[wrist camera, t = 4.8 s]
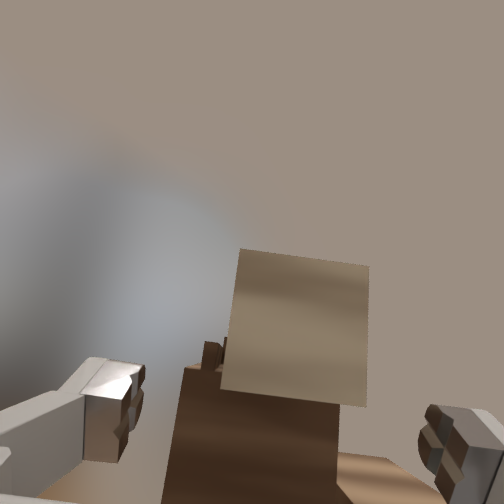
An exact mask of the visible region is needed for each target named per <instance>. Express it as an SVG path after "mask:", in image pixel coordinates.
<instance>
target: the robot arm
mask: <svg viewBox="0 0 504 504" xmlns="http://www.w3.org/2000/svg"><path fill="white" fill-rule="evenodd" d="M144 379H145V365H143V364H137V363H130V362H124V361H117V360H111V359H105V358H97V357H90V358H88V359H87V360H86V361H85V362H84V363H83V364H82V365H81V366H80V367H79V368H78V369H77V371H76V372H75V373H74V374H73V375H72V376H71V377H70V378H69V379H68V380H67V381H66V382H65V383H64V384H63V385H62V387H61V388H60V389H59V390H58V391H49V392H47V393H44V394H42V395H39V396H37V397H34V398H32V399H30V400H27V401H24V402H22V403H19V404H17V405H14V406H12V407H9V408H7V409H4V410H2V411H0V504H78V503H70V502H61V501H54V500H46V499H39V498H36V497H37V496H38V495H40V494H41V493H42V492H44V491H45V490H46V489H47V488H49V487H50V486H52V485H53V484H54V483H55V482H57V481H58V480H59V479H61V478H62V477H63V476H65V475H66V474H67V473H69V472H70V471H71V470H73V469H74V468H75V467H76V466H78V465H79V464H80V463H82V460H87V461H97V462H107V463H118V461H119V459H120V457H121V455H122V453H123V451H124V449H125V447H126V445H127V443H128V434H129V432H130V431H132V430H134V428H135V426H136V424H137V422H138V419H139V416H140V413H141V409H142V404H143V396H144V392H143V391H142V389H141V388H140V387H141V385H142V383H143V381H144ZM425 419H426V421H427V423H428V424H427V425H426V426H425V427H423V428H422V429H421V430H420V434H419V438H418V451H419V454H420V457H421V460H422V462H423V463H424V465H425V467H426V468H427V469H428V470H429V471H431V472H432V473H433V474H434V475H435V476H436V477H435V481H434V483H435V485H436V486H437V488H438V490H439V491H440V493H441V495H442V496H443V498H444V500H445V502H446V503H447V504H504V427H503V426H502V425H501V424H500V423H499V422H498V421H497V420H496V419H495V418H494V417H493V416H492V415H491V414H490V413H489V412H487V411H485V410H481V409H471V408H458V407H451V406H442V405H433V404H431V405H430V406H429V407H428V408H427V410H426V413H425Z"/></svg>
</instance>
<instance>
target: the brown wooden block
mask: <svg viewBox="0 0 504 504" xmlns="http://www.w3.org/2000/svg"><path fill="white" fill-rule="evenodd" d="M226 344H227V337H225V338H224V345H223V347H222V346H221V345H220V344H219V343H215V342H207V341H205V344H204V350H203V356H202V362H201V363H199V364H195V365H192V366H188V367H185V368H184V374H183V380H182V385H181V391H180V397H179V403H178V408H177V414H176V420H175V426H174V431H173V437H172V444H171V449H170V455H169V460H168V466H167V472H166V478H165V483H164V489H163V495H162V500H161V504H336V486H337V462H338V436H339V413H340V404H335V403H327V402H319V401H311V400H303V399H295V398H287V397H279V396H272V395H264V394H256V393H248V392H240V391H232V390H224V389H220V387H221V379H222V372H223V365H224V358H225V351H226Z"/></svg>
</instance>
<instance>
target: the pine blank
mask: <svg viewBox="0 0 504 504" xmlns="http://www.w3.org/2000/svg"><path fill="white" fill-rule="evenodd" d="M368 293H369V266H363V265H356V264H349V263H342V262H334V261H327V260H320V259H313V258H305V257H298V256H291V255H284V254H276V253H269V252H262V251H254V250H247V249H240V252H239V260H238V267H237V273H236V280H235V288H234V295H233V302H232V309H231V316H230V323H229V331H228V337H227V344H226V351H225V358H224V365H223V372H222V379H221V387H220V389H224V390H232V391H240V392H248V393H256V394H264V395H272V396H279V397H287V398H295V399H303V400H311V401H319V402H327V403H335V404H343V405H351V406H358V407H366V396H367V395H366V394H367V392H366V391H367V344H368Z"/></svg>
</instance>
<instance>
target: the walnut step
mask: <svg viewBox="0 0 504 504" xmlns="http://www.w3.org/2000/svg"><path fill="white" fill-rule="evenodd" d="M336 504H447V503H446V502H445V500H444V498H443V496H442V495H441V494H440V493H438V492H437V491H436V490H434V489H433V488H431V487H429V486H428V485H426V484H425V483H423V482H422V481H420V480H418V479H417V478H416V477H414V476H413V475H411V474H410V473H408V472H407V471H405V470H404V469H402V468H401V467H399V466H398V465H396V464H395V463H393V462H392V461H390V460H389V459H387V458H382V457H374V456H366V455H358V454H350V453H342V452H341V453H340V452H338V462H337V486H336Z"/></svg>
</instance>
